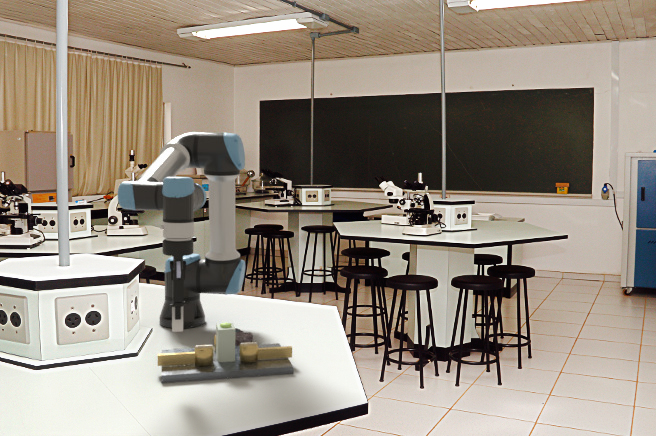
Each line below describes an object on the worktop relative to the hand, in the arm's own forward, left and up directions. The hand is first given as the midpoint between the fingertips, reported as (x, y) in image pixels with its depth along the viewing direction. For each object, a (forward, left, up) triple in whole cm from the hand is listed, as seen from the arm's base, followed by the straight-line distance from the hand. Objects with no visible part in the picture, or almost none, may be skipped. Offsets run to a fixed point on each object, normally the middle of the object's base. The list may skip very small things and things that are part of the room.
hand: (177, 330), depth 154 cm
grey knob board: (-9, +13, -13) cm, 21 cm away
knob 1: (-6, +2, -11) cm, 13 cm away
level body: (-9, +13, -11) cm, 20 cm away
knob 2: (-6, +24, -11) cm, 27 cm away
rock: (-27, +17, -14) cm, 35 cm away
